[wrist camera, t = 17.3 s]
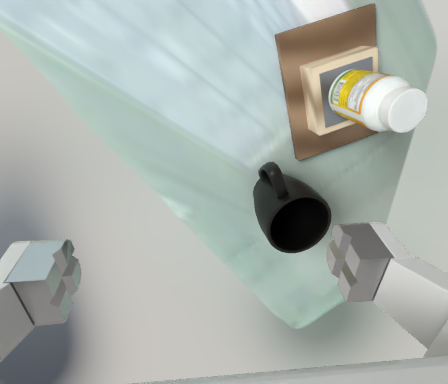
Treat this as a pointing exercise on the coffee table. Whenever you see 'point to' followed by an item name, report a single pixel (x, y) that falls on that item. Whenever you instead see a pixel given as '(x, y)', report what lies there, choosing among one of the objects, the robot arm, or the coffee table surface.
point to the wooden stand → (324, 76)
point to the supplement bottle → (377, 100)
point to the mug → (289, 211)
